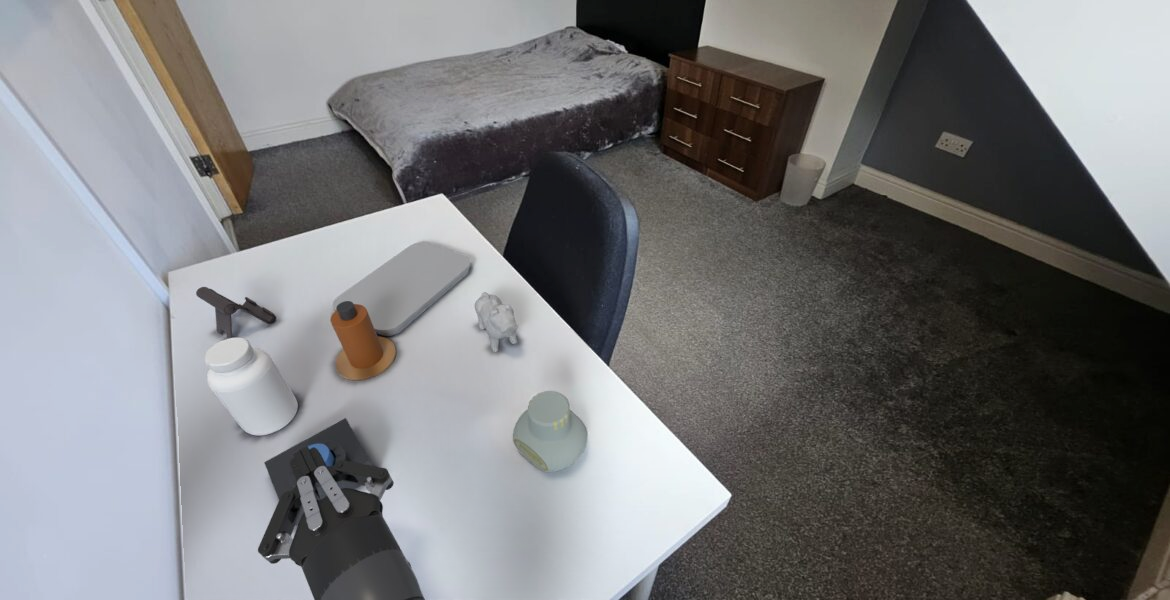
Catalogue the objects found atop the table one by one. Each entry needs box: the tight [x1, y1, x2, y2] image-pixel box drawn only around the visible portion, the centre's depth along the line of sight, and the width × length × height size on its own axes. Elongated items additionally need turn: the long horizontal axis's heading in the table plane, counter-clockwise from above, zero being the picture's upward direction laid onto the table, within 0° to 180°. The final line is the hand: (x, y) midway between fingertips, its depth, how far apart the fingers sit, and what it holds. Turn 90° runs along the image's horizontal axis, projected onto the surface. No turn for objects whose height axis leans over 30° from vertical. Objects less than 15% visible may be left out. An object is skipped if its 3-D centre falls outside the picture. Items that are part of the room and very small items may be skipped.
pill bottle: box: [204, 337, 299, 436], centre depth 69 cm, size 8×8×15 cm
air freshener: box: [512, 390, 588, 473], centre depth 67 cm, size 11×8×10 cm
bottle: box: [329, 301, 383, 369], centre depth 79 cm, size 6×6×12 cm
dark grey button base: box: [263, 417, 374, 527], centre depth 64 cm, size 11×10×6 cm
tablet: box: [331, 241, 472, 337], centre depth 97 cm, size 16×26×2 cm, turn 152°
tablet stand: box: [195, 286, 278, 339], centre depth 86 cm, size 9×8×8 cm
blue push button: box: [308, 444, 334, 466], centre depth 61 cm, size 4×4×2 cm
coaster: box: [335, 335, 397, 381], centre depth 83 cm, size 10×10×1 cm
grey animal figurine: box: [474, 291, 519, 353], centre depth 84 cm, size 5×13×11 cm, turn 32°
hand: (302, 453), depth 52 cm, fingers closed
